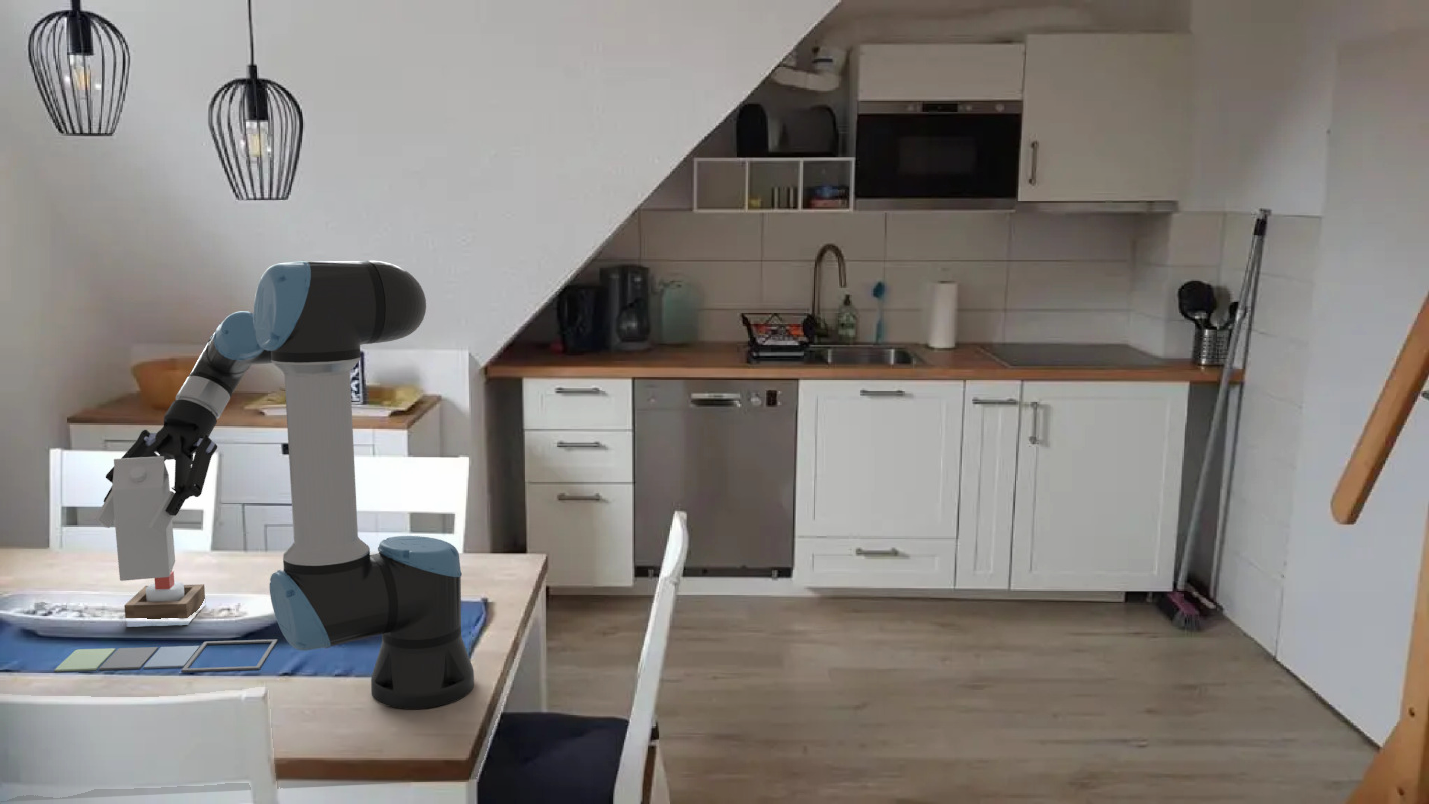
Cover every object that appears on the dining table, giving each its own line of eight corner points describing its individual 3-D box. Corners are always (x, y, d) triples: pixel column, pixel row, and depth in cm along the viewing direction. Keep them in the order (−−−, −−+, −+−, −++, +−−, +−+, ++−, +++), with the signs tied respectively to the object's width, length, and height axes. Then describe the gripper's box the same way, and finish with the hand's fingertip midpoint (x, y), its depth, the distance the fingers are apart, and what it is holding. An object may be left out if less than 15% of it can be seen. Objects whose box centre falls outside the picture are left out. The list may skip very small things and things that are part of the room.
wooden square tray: (187, 625, 192) (186, 603, 192) (125, 627, 191) (124, 605, 190) (205, 605, 202) (204, 584, 201) (146, 606, 201) (145, 585, 200)
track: (259, 669, 175) (259, 667, 175) (49, 676, 171) (49, 674, 171) (277, 641, 187) (277, 639, 187) (81, 646, 182) (80, 645, 182)
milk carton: (127, 567, 181) (117, 453, 178) (175, 563, 184) (167, 451, 180) (119, 582, 175) (109, 464, 171) (169, 577, 177) (160, 462, 173)
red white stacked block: (178, 614, 194) (176, 578, 193) (142, 615, 193) (139, 579, 192) (189, 602, 200) (187, 567, 199) (154, 603, 199) (152, 568, 198)
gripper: (263, 428, 186) (200, 547, 174) (156, 416, 192) (87, 530, 181) (239, 403, 180) (171, 524, 168) (129, 391, 186) (56, 507, 175)
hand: (128, 527), depth 175 cm, fingers closed on milk carton, 10 cm apart
